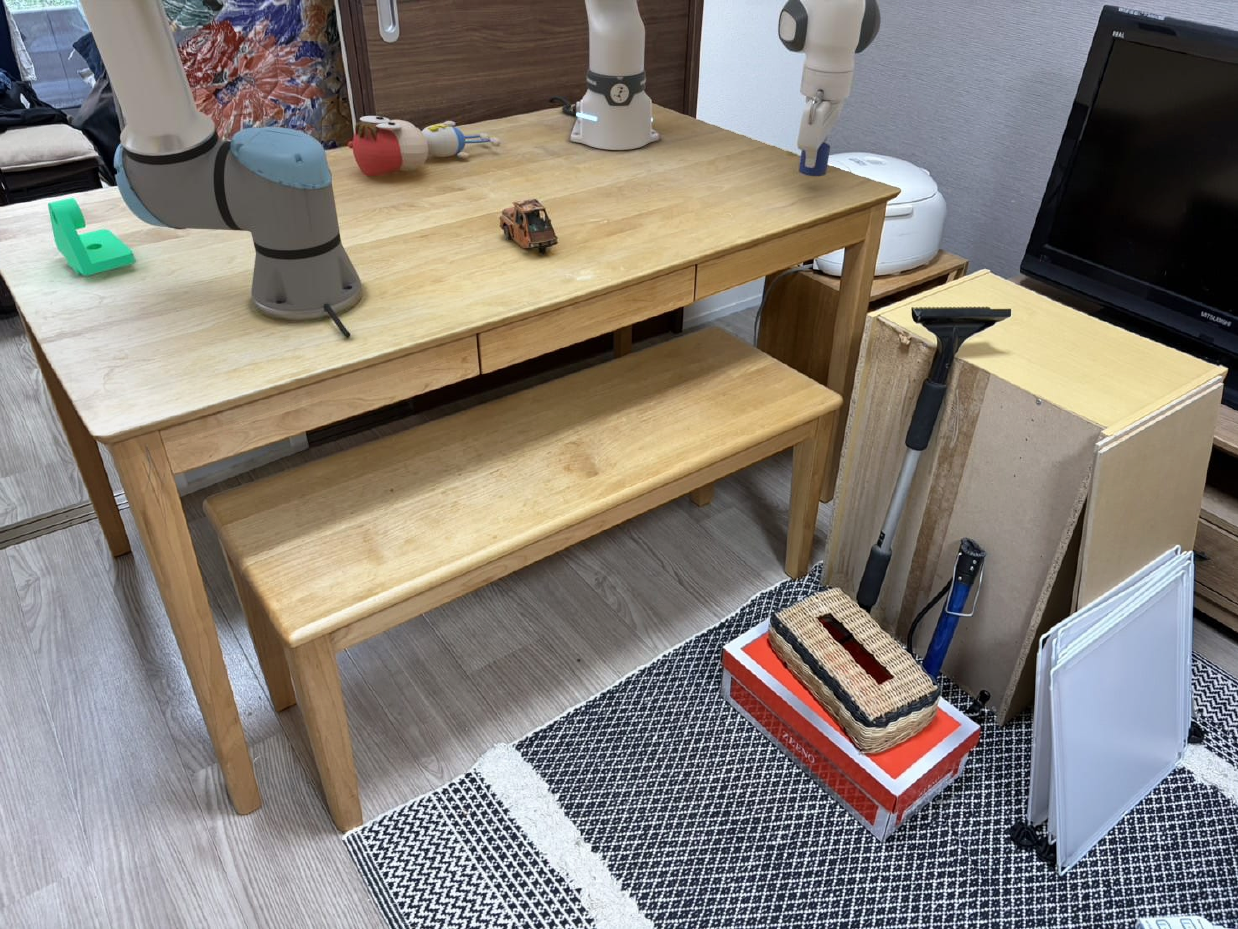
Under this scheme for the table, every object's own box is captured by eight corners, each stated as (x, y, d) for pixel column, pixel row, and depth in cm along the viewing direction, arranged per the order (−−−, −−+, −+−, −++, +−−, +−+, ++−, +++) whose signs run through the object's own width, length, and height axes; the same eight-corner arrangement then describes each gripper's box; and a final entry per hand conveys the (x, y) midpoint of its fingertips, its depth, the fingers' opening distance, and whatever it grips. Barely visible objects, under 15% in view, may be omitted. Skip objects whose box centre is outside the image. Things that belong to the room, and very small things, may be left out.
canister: (806, 165, 177) (810, 139, 174) (830, 171, 175) (835, 145, 172) (794, 172, 174) (797, 145, 171) (818, 178, 172) (822, 151, 169)
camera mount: (139, 268, 141) (119, 203, 135) (86, 282, 137) (63, 216, 130) (111, 243, 148) (91, 180, 142) (60, 256, 144) (37, 191, 137)
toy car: (524, 226, 158) (523, 186, 153) (566, 250, 150) (565, 209, 146) (492, 235, 154) (490, 194, 150) (533, 260, 147) (532, 218, 143)
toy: (516, 122, 178) (364, 126, 163) (515, 176, 183) (367, 184, 168) (475, 107, 191) (331, 109, 176) (475, 157, 196) (335, 163, 181)
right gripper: (831, 101, 156) (818, 181, 165) (854, 72, 172) (841, 147, 180) (795, 96, 158) (784, 175, 166) (820, 68, 173) (809, 142, 182)
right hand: (814, 160), depth 173 cm, fingers closed on canister, 5 cm apart
